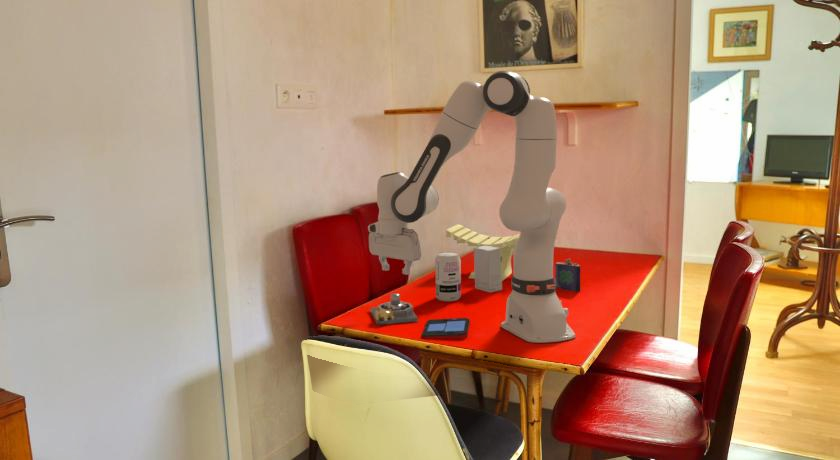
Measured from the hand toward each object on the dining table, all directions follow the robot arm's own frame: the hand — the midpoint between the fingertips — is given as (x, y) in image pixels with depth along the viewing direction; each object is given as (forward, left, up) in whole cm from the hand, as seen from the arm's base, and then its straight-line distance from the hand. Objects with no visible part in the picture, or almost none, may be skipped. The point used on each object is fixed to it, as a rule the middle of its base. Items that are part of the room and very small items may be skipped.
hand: (395, 272), depth 197 cm
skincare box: (+19, -36, -14) cm, 43 cm away
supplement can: (+12, -20, -14) cm, 27 cm away
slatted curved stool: (+39, -44, -14) cm, 60 cm away
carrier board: (-2, +1, -13) cm, 13 cm away
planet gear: (0, 0, -12) cm, 12 cm away
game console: (-19, -11, -14) cm, 26 cm away
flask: (+11, -62, -14) cm, 64 cm away
